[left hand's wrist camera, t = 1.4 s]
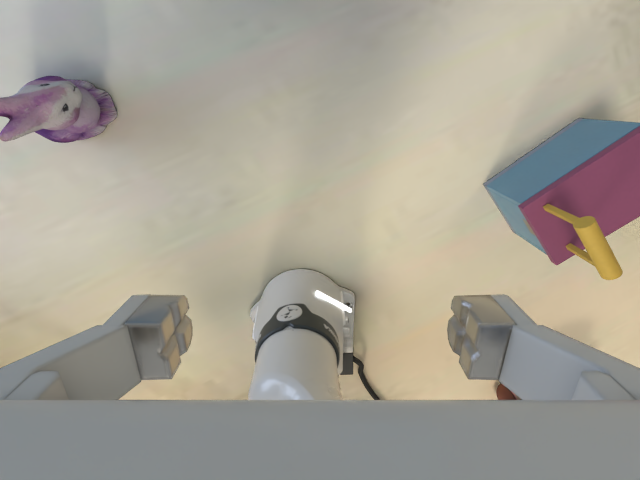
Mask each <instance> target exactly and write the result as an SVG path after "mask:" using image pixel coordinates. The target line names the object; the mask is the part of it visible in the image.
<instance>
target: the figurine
mask: <svg viewBox="0 0 640 480" xmlns="http://www.w3.org/2000/svg"><path fill="white" fill-rule="evenodd" d="M0 116H3V117H7V118H9V119H10V121H9V122H8V124H7V125H6V126H5V127H4V128H3V130H2V131H1V133H0V139H1V140H2V141H11V140H14V139H17V138H19V137H22V136H24V135H26V134H29V133H32V132H36V133H38V134H40V135H41V136H43V137H45V138H47V139H49V140H51V141H54V142H60V143H67V142H73V141H76V140H84V139H87V138H90V137H94V136H96V135H98V134H100V133H102V132H103V131H104V129H105V128H106V126H107V124H109V123H110V122H112V121H113V120H115V118H116V117H117V112H116V110H115V106H114V104H113V101H112V98H111V97H110V95H109V94H108V93H107V92H105V91H103V90H100V89H97V88H95V87H94V85H93V84H91V83H89V82H87V81H81V80H66V79H64V78H61V77H58V76H46V77H41V78H38V79H36V80H34V81H31V82H29V83H27V84H26V85H24V86H23V87H22V88H21V89H20V90H19V91H18V93H17V94H15V95H13V96H10V97H3V98H0Z"/></svg>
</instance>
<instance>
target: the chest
mask: <svg viewBox="0 0 640 480" xmlns="http://www.w3.org/2000/svg"><path fill="white" fill-rule="evenodd" d="M639 126H640V123H636V122H622V121H608V120H594V119H584V118H578V119H576V120H575V121H574V122H572V123H571V124H569V125H568V126H566V127H565V128H563V129H562V130H561V131H559V132H558V133H556V134H555V135H553V136H552V137H550V138H549V139H548V140H546V141H545V142H543V143H542V144H540V145H539V146H537V147H536V148H535V149H533V150H532V151H530V152H529V153H527V154H526V155H524V156H523V157H522V158H520V159H519V160H517V161H516V162H514V163H513V164H511V165H510V166H509V167H507V168H506V169H504V170H503V171H501V172H500V173H498V174H497V175H495V176H494V177H493V178H491V179H490V180H488V181H487V182H485V183H484V184H483V185H484V187H485V188H486V190H487V191H488V193H489V195H490V196H491V198H492V199H493V201H494V203H495V204H496V206H497V207H498V209H499V210H500V212H501V214H502V215H503V217H504V218H505V220H506V222H507V223H508V225H509V226H510V228H511V230H512V231H513V232H514V233H515V234H517V235H519V236H520V237H522V238H523V239H525V240H526V241H528V242H529V243H530V244H532V245H533V246H535V247H536V248H538V249H539V250H541V251H542V252H544V253H545V254H547V253H546V252H545V250H544V249H543V247H542V245H541V244H540V242H539V240H538V239H537V237H536V235H535V234H534V232H533V230H532V229H531V227H530V225H529V224H528V222H527V220H526V219H525V217H524V215H523V214H522V212H521V210H520V209H519V207H518V205H520V204H521V203H523V202H525V201H526V200H528V199H529V198H531V197H532V196H534V195H535V194H537V193H538V192H540V191H541V190H543V189H544V188H546V187H547V186H549V185H550V184H552V183H553V182H555V181H557V180H558V179H560V178H561V177H563V176H564V175H566V174H567V173H569V172H570V171H572V170H573V169H575V168H576V167H578V166H579V165H581V164H582V163H584V162H585V161H587V160H589V159H590V158H592V157H593V156H595V155H596V154H598V153H599V152H601V151H602V150H604V149H605V148H607V147H608V146H610V145H611V144H613V143H614V142H616V141H618V140H619V139H621V138H622V137H624V136H625V135H627V134H628V133H630V132H631V131H633V130H634V129H636V128H637V127H639Z"/></svg>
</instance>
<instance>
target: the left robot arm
mask: <svg viewBox="0 0 640 480" xmlns="http://www.w3.org/2000/svg"><path fill="white" fill-rule="evenodd" d="M346 303H350V304H346ZM354 307H355V295H354V293H353V292H352V291H350V290H348V289H345V288H342V287H339V286H338V285H337V284H335V283H334V282H333V281H332V280H331V279H330V278H328V277H327V276H325V275H324V274H322V273H319V272H317V271H313V270H308V269H294V270H289V271H286V272H283V273H281V274H279V275H278V276H276V277H275V278H273V279H272V280H271V281H270V282H269V283H268V285H267V286H266V288H265V290H264V292H263V294H262V297H261V299H260V300H259V301H258V302H257V303H256V304H255V305H254V306H253V307H252V308H251V310H250V317H251V319H252V320H253V322H254V328H253V334H252V337H253V340H255V341H256V349H255V350H256V351H255V363H256V364H255V368H254V372H253V377H252V381H251V385H250V389H249V394H248V400H118V399H119V398H121V397H122V396H123V395H125V394H126V393H127V392H128V391H130V390H131V389H132V388H133V387H135V386H136V385H137V384H139V383H140V382H141V380H157V379H172V378H173V376H174V374H175V372H176V370H177V369H178V367H179V365H180V363H181V359H180V356H181V355H182V354H184V353H185V352H187V350H188V348H189V346H190V344H191V339H192V321H191V320H190V319H189V317H188V316H187V315H186V312H187V311H188V309H189V304H188V300H187V298H186V297H185V296H184V295H133V296H131V297H130V298H129V299H128V300H127V301H126V302H125V303H124V304H123V305H122V306H121V307H120V308H119V309H118V310H117V311H116V312H115V313H114V314H113V315H112V316H111V317H110V318H109V319H108V320H107V321H106V322H105V323H104V324H103V325H97V326H95V327H92V328H90V329H88V330H85V331H83V332H81V333H79V334H76V335H74V336H72V337H70V338H67V339H65V340H63V341H61V342H58V343H56V344H54V345H52V346H49V347H47V348H45V349H43V350H40V351H38V352H36V353H34V354H31V355H29V356H27V357H25V358H22V359H20V360H18V361H16V362H13V363H11V364H9V365H7V366H4V367H2V368H0V480H640V368H638V367H635V366H633V365H631V364H629V363H626V362H624V361H622V360H620V359H617V358H615V357H613V356H611V355H608V354H606V353H604V352H602V351H599V350H597V349H595V348H593V347H590V346H588V345H586V344H584V343H581V342H579V341H577V340H575V339H572V338H570V337H568V336H566V335H563V334H561V333H559V332H557V331H554V330H552V329H550V328H548V327H545V326H543V325H537V324H536V323H535V322H534V321H533V320H532V319H531V318H530V317H529V316H528V315H527V314H526V313H525V312H524V311H523V310H522V309H521V308H520V307H519V306H518V305H517V304H516V303H515V302H514V301H513V300H512V299H511V298H510V297H509V296H507V295H504V294H501V295H468V296H454V298H453V300H452V304H451V309H452V311H453V312H454V315H453V316H452V317H451V319H450V320H449V321H448V329H447V331H448V340H449V343H450V346H451V348H452V350H453V352H455V353H456V354H458V355H459V356H460V359H459V363H460V365H461V367H462V369H463V370H464V372H465V374H466V376H467V378H468V379H482V380H499V382H500V383H502V384H503V385H504V386H505V387H507V388H508V389H509V390H510V391H512V392H513V393H514V394H516V395H517V396H518V397H519V398H521V399H522V400H380V399H379V398H378V397H377V396H376V394H375V393H374V392H373V390H372V389H371V387H370V386H369V384H368V382H367V380H366V378H365V376H364V374H363V368H364V365H363V363H362V362H361V361H360V360H359V359H358V358H356V357H355V356H353V332H354ZM353 362H355V363H356V364H358V365H359V369H358V373H359V376H360V378H361V380H362V382H363V384H364V386H365V387H366V389H367V391H368V392H369V393H370V395H371V396H372V397H373V399H374V400H343V398H342V395H341V390H340V385H339V379H338V375H349V374H353Z"/></svg>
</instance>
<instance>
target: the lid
mask: <svg viewBox="0 0 640 480" xmlns="http://www.w3.org/2000/svg"><path fill="white" fill-rule="evenodd" d="M518 207H519V209H520V210H521V212H522V214H523V215H524V217H525V219H526V220H527V222H528V224H529V225H530V227H531V229H532V230H533V232H534V234H535V235H536V237H537V239H538V240H539V242H540V244H541V245H542V247H543V249H544V250H545V252H546V253H547V255H548V257H549V258H550V260H551V262H553V263H554V264H555V265H558V264H560V263H562V262H563V261H565V260H567V259H568V258H570V257H572V256H573V255H577V256H579V257H580V258H582V259H584V260H585V261H587V262H589V263H590V264H592V265H594V266H595V267H596V269H597V270H598V272H599V274H600V276H601V277H602V278H603V279H606V280H613V279H616V278H619V277H620V276H621V275H622V269H621V267H620V265H619V263H618V262H617V260H616V258H615V256H614V254H613V252H612V250H611V248H610V246H609V244H608V242H607V240H606V238H605V237H606V236H607V235H609V234H611V233H612V232H614V231H616V230H617V229H619V228H621V227H622V226H624V225H626V224H628V223H629V222H631V221H633V220H634V219H636V218H638V217H639V216H640V126H639V127H637V128H636V129H634V130H633V131H631V132H630V133H628V134H627V135H625V136H624V137H622V138H621V139H619V140H618V141H616V142H614V143H613V144H611V145H610V146H608V147H607V148H605V149H604V150H602V151H601V152H599V153H598V154H596V155H595V156H593V157H592V158H590V159H589V160H587V161H585V162H584V163H582V164H581V165H579V166H578V167H576V168H575V169H573V170H572V171H570V172H569V173H567V174H566V175H564V176H563V177H561V178H560V179H558V180H557V181H555V182H553V183H552V184H550V185H549V186H547V187H546V188H544V189H543V190H541V191H540V192H538V193H537V194H535V195H534V196H532V197H531V198H529V199H528V200H526V201H525V202H523V203H521V204H520V205H518ZM584 249H586V251H587V252H588V253H587V252H585V251H583V250H584Z"/></svg>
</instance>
